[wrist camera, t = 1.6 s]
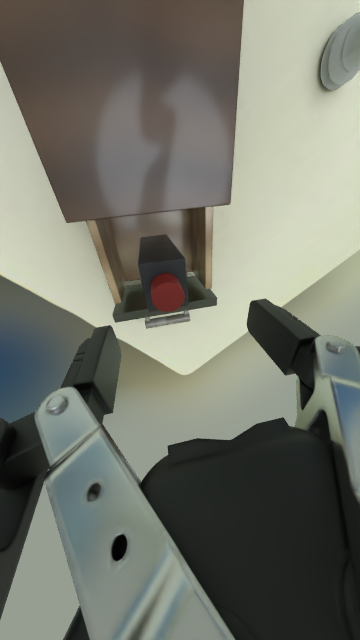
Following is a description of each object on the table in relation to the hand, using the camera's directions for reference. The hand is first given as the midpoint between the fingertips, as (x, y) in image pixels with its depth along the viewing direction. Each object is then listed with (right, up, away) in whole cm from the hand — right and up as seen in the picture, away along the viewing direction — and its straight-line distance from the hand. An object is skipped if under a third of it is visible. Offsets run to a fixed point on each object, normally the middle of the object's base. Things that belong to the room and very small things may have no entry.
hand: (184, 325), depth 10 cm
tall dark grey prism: (-4, +10, +15) cm, 18 cm away
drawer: (-4, +10, +16) cm, 19 cm away
